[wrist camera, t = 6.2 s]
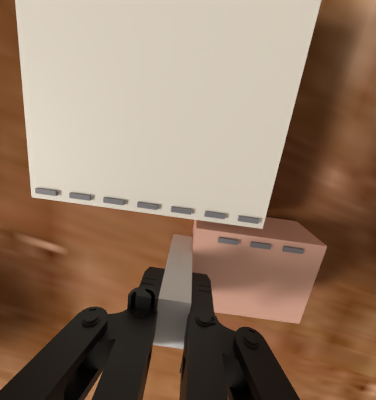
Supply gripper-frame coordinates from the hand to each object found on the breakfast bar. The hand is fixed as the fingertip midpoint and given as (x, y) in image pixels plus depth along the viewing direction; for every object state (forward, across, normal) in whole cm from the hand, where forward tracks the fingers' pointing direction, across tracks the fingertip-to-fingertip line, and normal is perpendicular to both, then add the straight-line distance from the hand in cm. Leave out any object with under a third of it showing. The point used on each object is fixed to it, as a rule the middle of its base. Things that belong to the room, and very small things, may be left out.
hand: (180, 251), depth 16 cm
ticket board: (+2, -2, +10) cm, 10 cm away
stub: (+2, +5, 0) cm, 5 cm away
